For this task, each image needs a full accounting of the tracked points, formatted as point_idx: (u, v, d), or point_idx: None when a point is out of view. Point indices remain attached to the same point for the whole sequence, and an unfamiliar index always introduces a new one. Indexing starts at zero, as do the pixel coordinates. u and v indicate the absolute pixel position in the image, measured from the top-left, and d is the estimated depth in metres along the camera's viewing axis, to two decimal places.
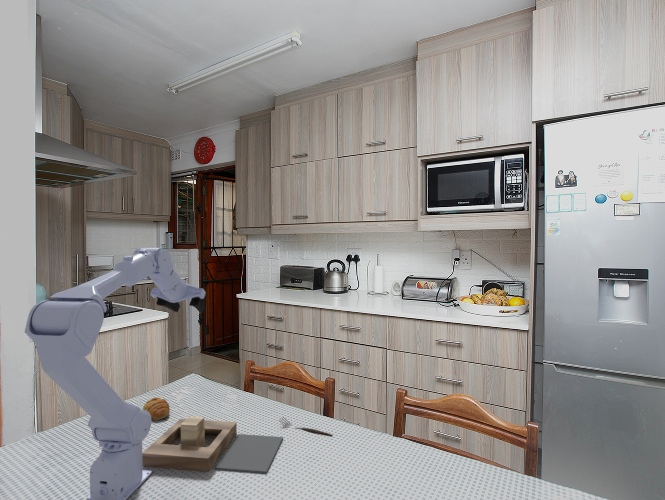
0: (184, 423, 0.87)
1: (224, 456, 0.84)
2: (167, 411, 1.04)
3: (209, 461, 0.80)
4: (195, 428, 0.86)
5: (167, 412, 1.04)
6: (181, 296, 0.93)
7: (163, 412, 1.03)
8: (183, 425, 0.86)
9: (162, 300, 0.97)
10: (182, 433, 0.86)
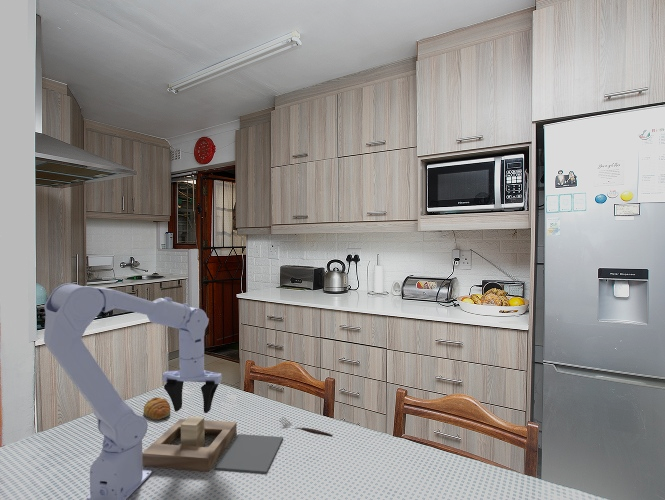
0: (184, 423, 0.87)
1: (224, 456, 0.84)
2: (168, 411, 1.04)
3: (209, 461, 0.80)
4: (195, 428, 0.86)
5: (168, 412, 1.04)
6: (197, 375, 0.86)
7: (164, 412, 1.03)
8: (183, 425, 0.86)
9: (171, 384, 0.87)
10: (182, 433, 0.86)
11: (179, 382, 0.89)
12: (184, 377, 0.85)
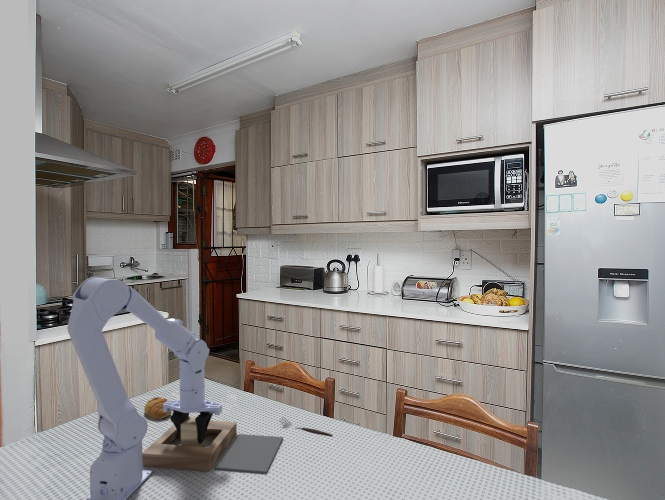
0: (184, 423, 0.87)
1: (224, 456, 0.84)
2: None
3: (209, 461, 0.80)
4: (195, 428, 0.86)
5: (169, 411, 1.05)
6: (197, 406, 0.86)
7: None
8: (183, 425, 0.86)
9: (177, 415, 0.87)
10: (182, 433, 0.86)
11: (185, 412, 0.89)
12: (184, 408, 0.85)
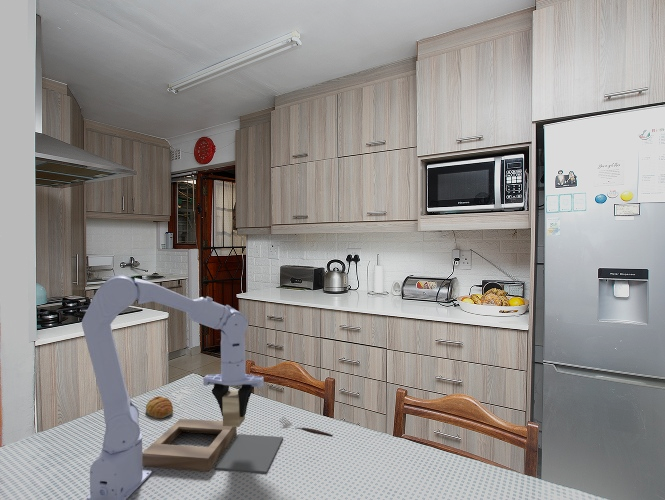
0: (226, 396, 0.85)
1: (224, 456, 0.84)
2: (171, 409, 1.05)
3: (209, 461, 0.80)
4: (237, 401, 0.85)
5: (171, 410, 1.05)
6: (239, 379, 0.85)
7: (167, 410, 1.04)
8: (225, 398, 0.85)
9: (219, 388, 0.86)
10: (224, 406, 0.85)
11: (226, 386, 0.88)
12: (227, 381, 0.84)
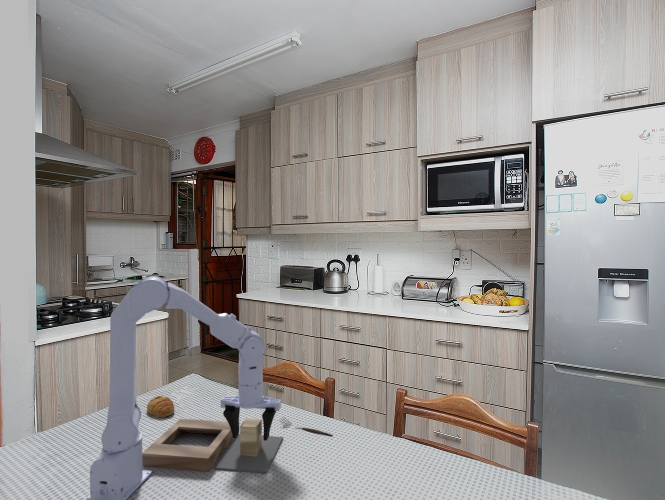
0: (243, 425, 0.85)
1: (224, 456, 0.84)
2: (172, 408, 1.06)
3: (209, 461, 0.80)
4: (255, 430, 0.84)
5: (172, 409, 1.06)
6: (257, 402, 0.84)
7: (169, 410, 1.05)
8: (242, 427, 0.85)
9: (230, 410, 0.85)
10: (242, 435, 0.85)
11: (237, 408, 0.87)
12: (244, 404, 0.83)
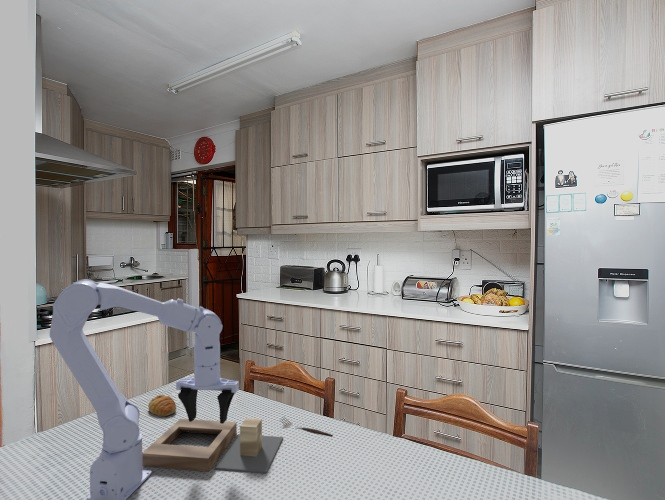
0: (243, 425, 0.85)
1: (224, 456, 0.84)
2: (174, 407, 1.07)
3: (209, 461, 0.80)
4: (255, 430, 0.84)
5: (174, 408, 1.06)
6: (213, 383, 0.81)
7: (171, 408, 1.06)
8: (242, 427, 0.85)
9: (185, 393, 0.82)
10: (242, 435, 0.85)
11: (193, 390, 0.84)
12: (199, 385, 0.80)
